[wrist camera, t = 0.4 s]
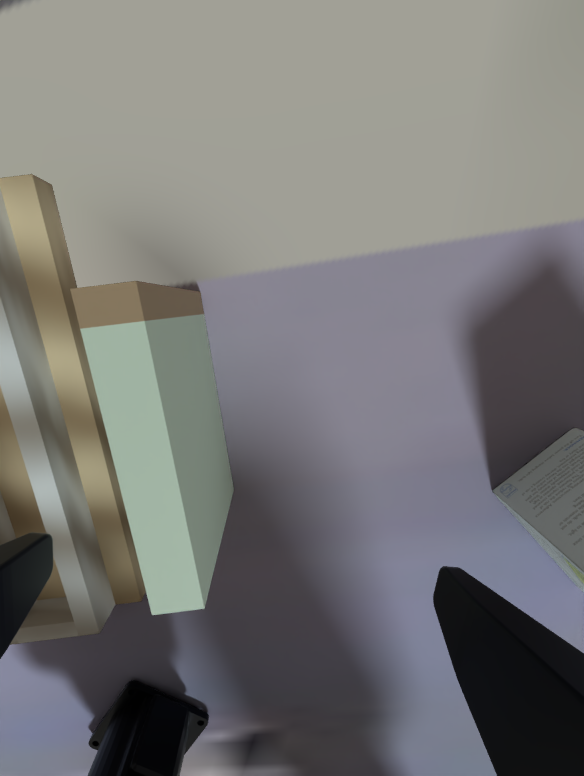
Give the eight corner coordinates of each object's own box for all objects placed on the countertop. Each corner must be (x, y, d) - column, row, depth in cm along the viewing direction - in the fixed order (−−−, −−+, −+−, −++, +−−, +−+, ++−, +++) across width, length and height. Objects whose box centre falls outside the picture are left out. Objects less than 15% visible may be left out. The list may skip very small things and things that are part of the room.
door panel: (233, 489, 22) (204, 608, 14) (202, 493, 22) (152, 615, 14) (200, 291, 20) (135, 281, 11) (164, 296, 20) (70, 288, 11)
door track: (149, 582, 24) (127, 629, 20) (14, 600, 24) (-31, 649, 20) (51, 184, 18) (-2, 157, 15) (-126, 205, 18) (-219, 182, 15)
